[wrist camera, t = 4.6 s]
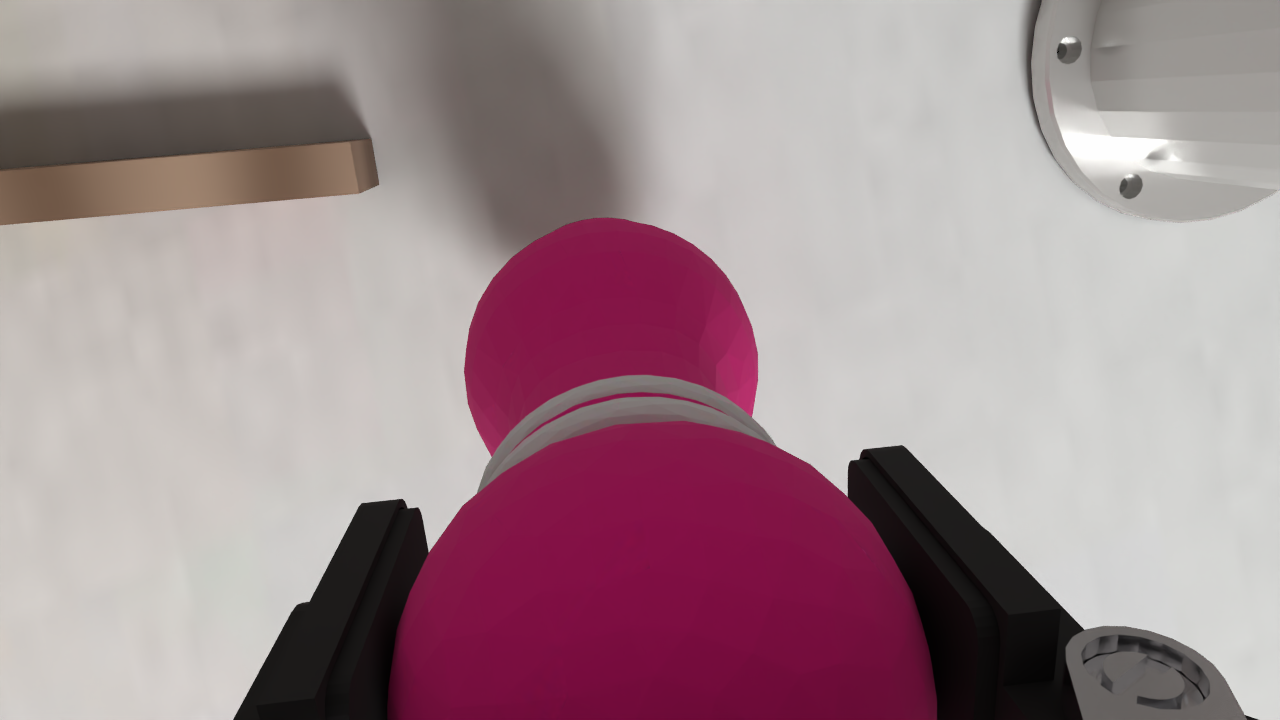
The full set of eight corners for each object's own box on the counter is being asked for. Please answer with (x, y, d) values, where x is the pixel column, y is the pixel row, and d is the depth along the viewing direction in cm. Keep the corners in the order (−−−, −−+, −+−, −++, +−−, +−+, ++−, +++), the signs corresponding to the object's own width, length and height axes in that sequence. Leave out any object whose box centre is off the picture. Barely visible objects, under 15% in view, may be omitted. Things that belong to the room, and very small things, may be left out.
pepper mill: (459, 221, 23) (-74, 801, 4) (707, 180, 23) (1323, 543, 4) (510, 449, 25) (327, 1508, 6) (736, 410, 25) (1219, 1316, 6)
